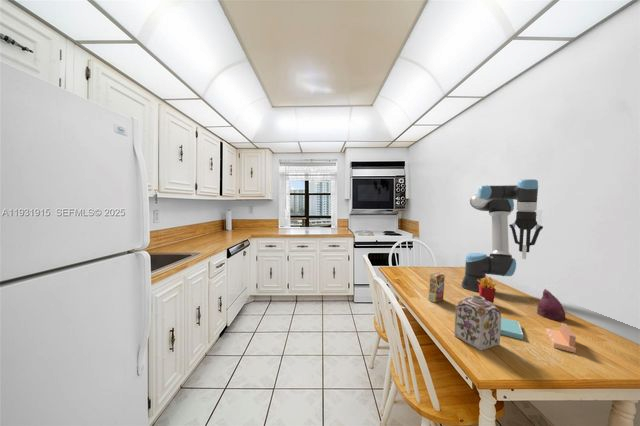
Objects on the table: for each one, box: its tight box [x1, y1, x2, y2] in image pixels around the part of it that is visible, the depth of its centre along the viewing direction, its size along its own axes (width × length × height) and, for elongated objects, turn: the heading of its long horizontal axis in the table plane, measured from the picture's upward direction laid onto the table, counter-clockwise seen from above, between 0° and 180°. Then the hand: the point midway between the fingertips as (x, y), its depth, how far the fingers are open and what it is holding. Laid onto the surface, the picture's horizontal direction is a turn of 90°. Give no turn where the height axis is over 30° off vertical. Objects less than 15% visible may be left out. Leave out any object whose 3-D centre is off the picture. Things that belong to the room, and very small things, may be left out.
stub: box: [545, 322, 577, 354], centre depth 98 cm, size 14×6×6 cm, turn 146°
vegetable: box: [536, 288, 566, 322], centre depth 121 cm, size 10×10×15 cm
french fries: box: [477, 276, 497, 304], centre depth 136 cm, size 9×8×15 cm
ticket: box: [500, 317, 524, 341], centre depth 108 cm, size 14×12×2 cm
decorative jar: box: [453, 295, 502, 352], centre depth 98 cm, size 12×12×18 cm
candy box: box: [428, 272, 446, 303], centre depth 139 cm, size 9×4×15 cm, turn 123°
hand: (523, 258), depth 119 cm, fingers closed
